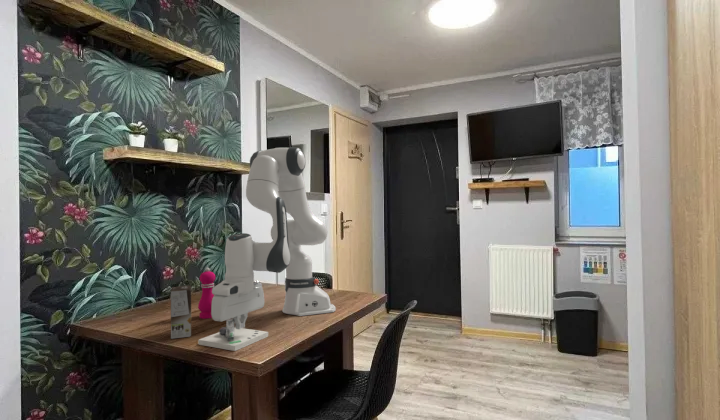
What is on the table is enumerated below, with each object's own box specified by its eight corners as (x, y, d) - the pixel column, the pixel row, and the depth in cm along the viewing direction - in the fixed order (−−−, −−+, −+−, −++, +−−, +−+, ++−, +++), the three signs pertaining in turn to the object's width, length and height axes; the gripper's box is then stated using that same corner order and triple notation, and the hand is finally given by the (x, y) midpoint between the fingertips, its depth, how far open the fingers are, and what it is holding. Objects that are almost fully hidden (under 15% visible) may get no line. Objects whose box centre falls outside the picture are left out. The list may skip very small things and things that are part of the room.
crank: (218, 332, 129) (218, 314, 129) (232, 330, 131) (232, 312, 131) (223, 341, 118) (223, 322, 119) (238, 339, 120) (238, 320, 121)
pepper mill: (220, 314, 161) (220, 266, 161) (212, 319, 153) (211, 268, 154) (203, 314, 161) (203, 266, 162) (194, 318, 154) (194, 268, 155)
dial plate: (233, 331, 137) (233, 326, 137) (268, 336, 130) (268, 331, 130) (198, 344, 123) (198, 339, 123) (235, 351, 116) (235, 345, 116)
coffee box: (191, 336, 131) (191, 289, 131) (170, 339, 128) (170, 290, 129) (191, 329, 139) (191, 285, 140) (171, 332, 137) (171, 286, 137)
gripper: (254, 279, 134) (254, 319, 134) (207, 289, 116) (208, 336, 115) (268, 280, 131) (269, 321, 131) (223, 291, 113) (223, 338, 113)
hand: (240, 328), depth 123 cm, fingers closed
